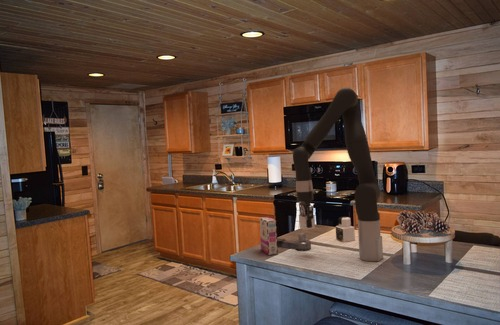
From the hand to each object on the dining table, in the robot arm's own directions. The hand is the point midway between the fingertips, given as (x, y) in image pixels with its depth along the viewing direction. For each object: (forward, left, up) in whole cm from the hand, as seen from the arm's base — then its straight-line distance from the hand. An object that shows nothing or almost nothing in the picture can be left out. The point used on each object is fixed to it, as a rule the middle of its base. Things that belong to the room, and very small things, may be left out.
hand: (307, 226), depth 176 cm
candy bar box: (+19, +3, -14) cm, 24 cm away
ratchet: (+14, -8, -13) cm, 21 cm away
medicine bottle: (-6, -31, -14) cm, 35 cm away
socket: (0, 0, -1) cm, 1 cm away
